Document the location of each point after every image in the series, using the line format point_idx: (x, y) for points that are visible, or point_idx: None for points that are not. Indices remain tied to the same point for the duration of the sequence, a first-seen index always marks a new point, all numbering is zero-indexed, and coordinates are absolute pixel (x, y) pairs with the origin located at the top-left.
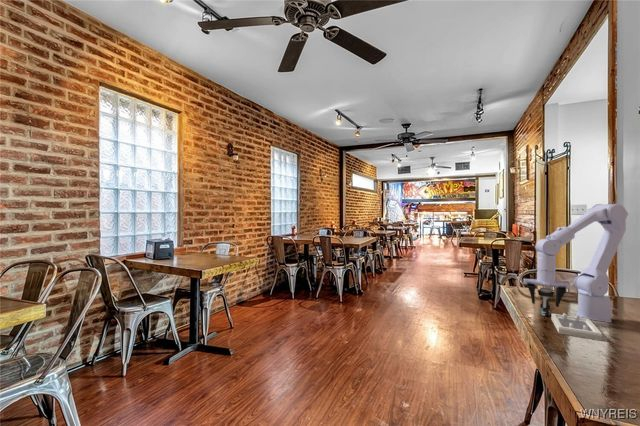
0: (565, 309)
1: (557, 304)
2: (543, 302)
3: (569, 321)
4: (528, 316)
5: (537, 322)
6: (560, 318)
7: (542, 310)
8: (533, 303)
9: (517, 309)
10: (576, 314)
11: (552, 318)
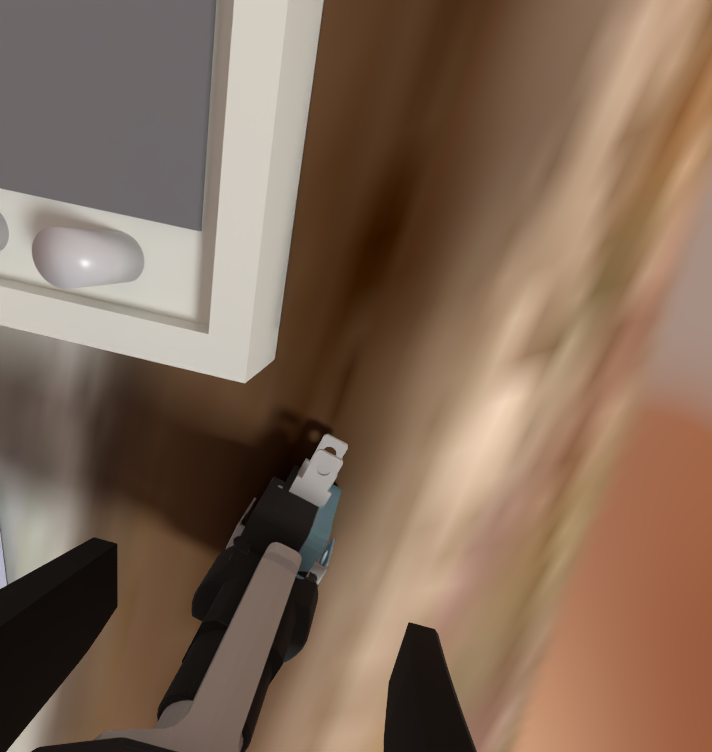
0: (72, 698)
1: (70, 564)
2: (270, 631)
3: (80, 79)
4: (533, 383)
5: (526, 115)
6: (175, 211)
7: (319, 517)
8: (425, 628)
9: (546, 622)
10: (2, 571)
11: (274, 272)
